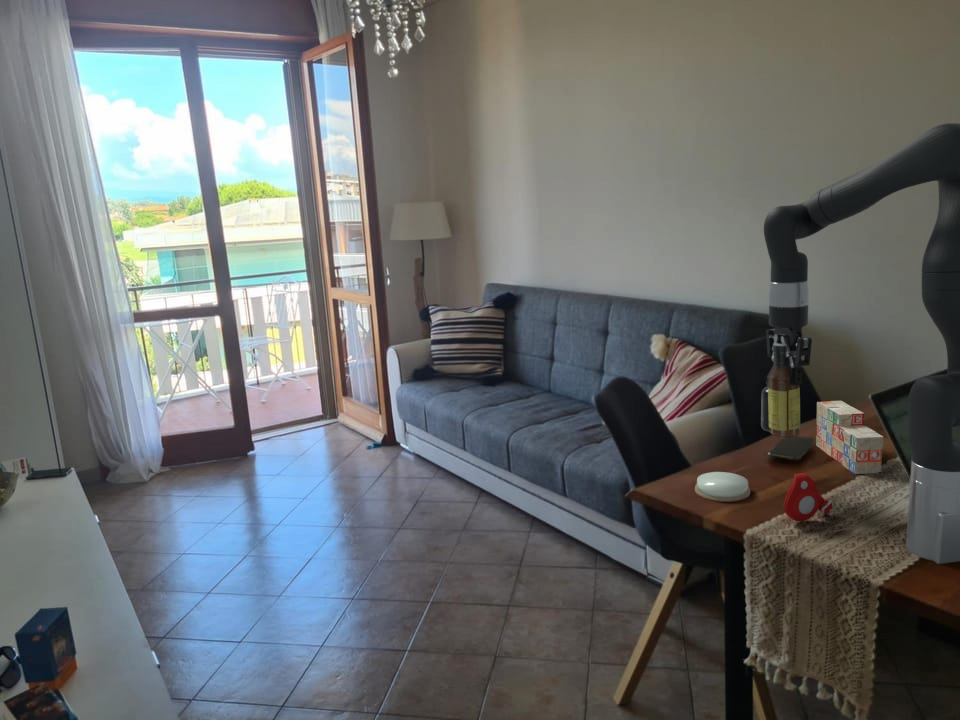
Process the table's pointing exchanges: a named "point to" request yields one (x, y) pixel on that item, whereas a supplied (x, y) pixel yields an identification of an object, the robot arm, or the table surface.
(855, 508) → the table surface
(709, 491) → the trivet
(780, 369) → the sauce bottle
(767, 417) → the supplement bottle
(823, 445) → the stack of blocks
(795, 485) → the tracker holder
